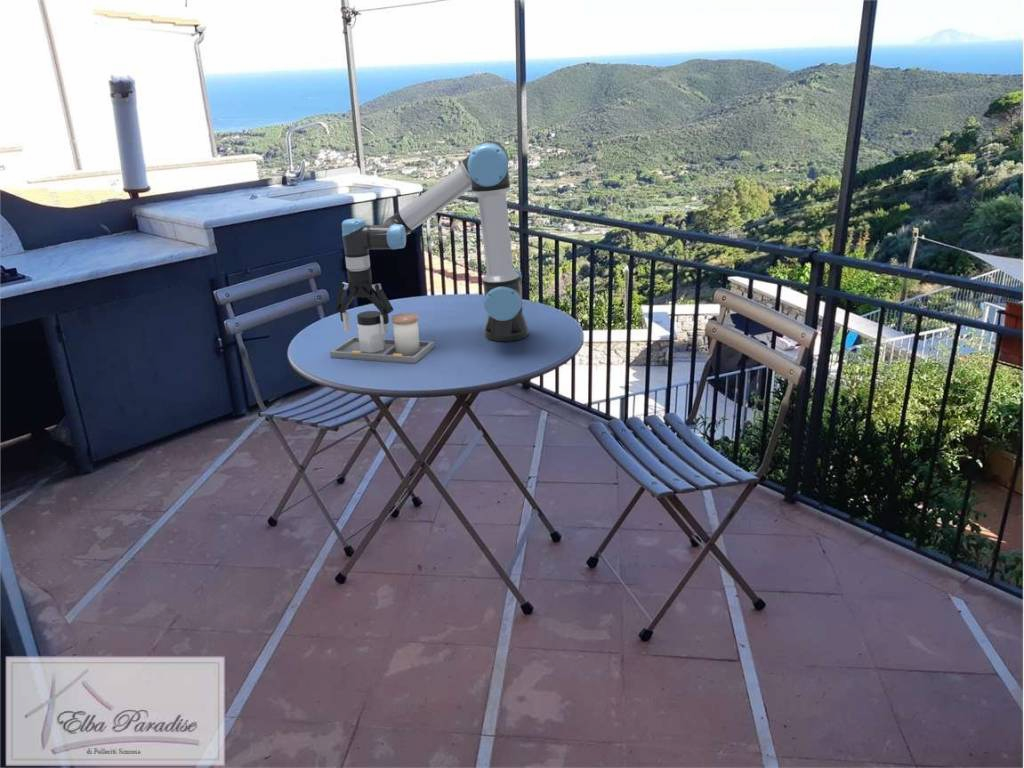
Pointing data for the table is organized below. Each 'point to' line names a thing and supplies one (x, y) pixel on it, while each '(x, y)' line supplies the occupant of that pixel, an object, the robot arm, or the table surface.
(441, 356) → the table surface
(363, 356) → the divided grey tray
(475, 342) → the table surface
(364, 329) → the jar
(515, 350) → the table surface
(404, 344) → the white jar with lid
